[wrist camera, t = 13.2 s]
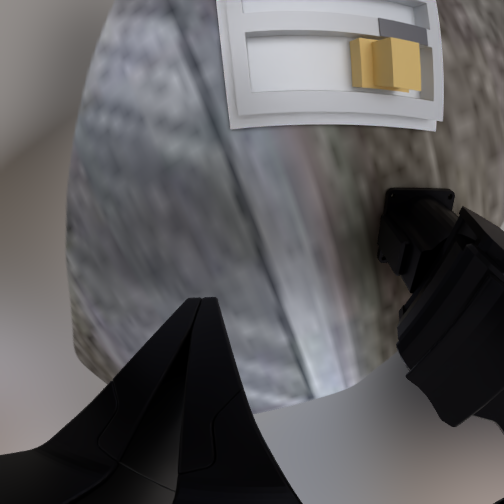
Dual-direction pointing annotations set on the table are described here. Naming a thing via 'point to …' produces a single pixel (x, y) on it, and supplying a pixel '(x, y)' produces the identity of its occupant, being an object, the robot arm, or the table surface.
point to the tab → (386, 64)
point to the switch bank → (324, 62)
